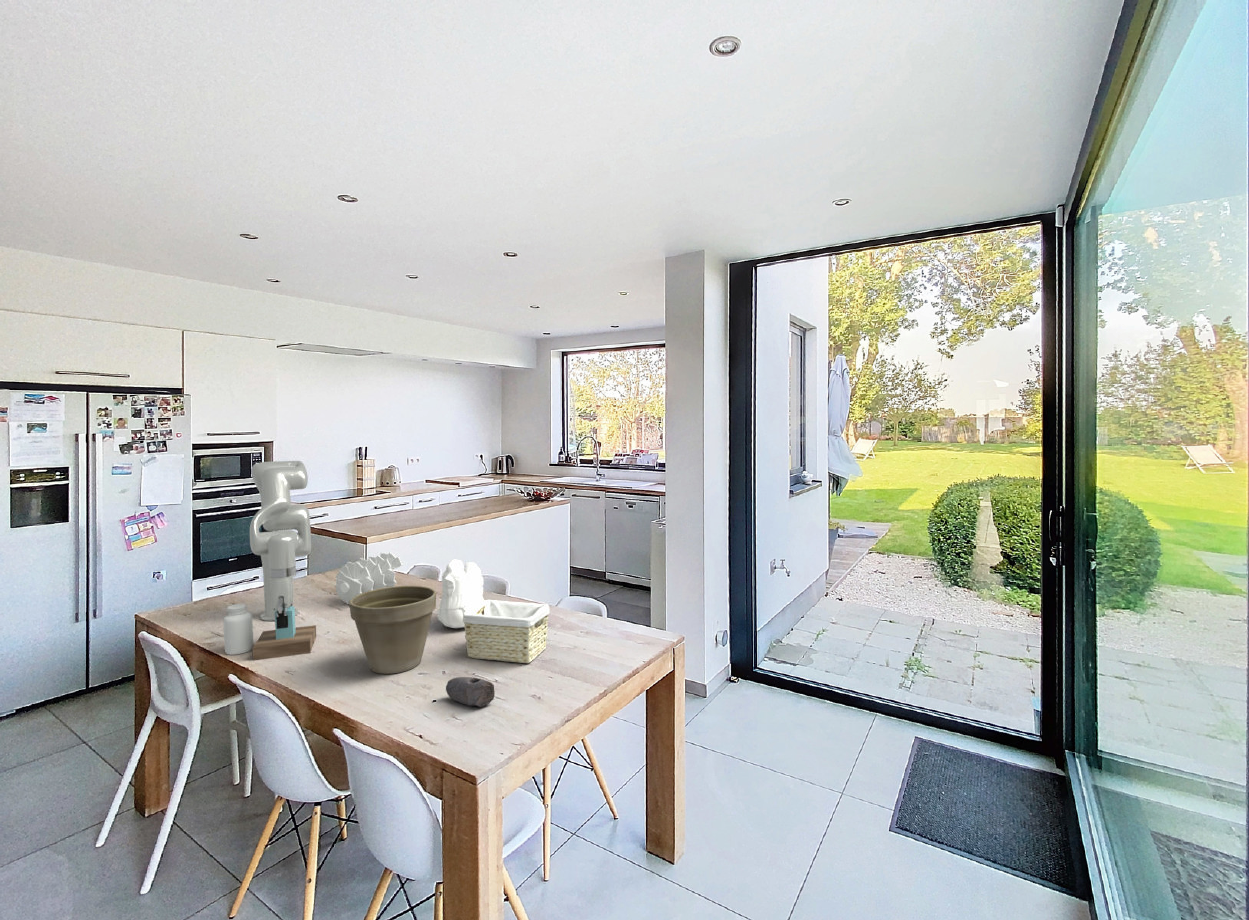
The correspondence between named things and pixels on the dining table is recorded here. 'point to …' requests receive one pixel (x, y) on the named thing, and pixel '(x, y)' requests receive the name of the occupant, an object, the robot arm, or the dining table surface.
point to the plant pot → (393, 625)
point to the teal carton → (291, 629)
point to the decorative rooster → (459, 592)
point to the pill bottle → (238, 630)
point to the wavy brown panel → (284, 643)
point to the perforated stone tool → (470, 691)
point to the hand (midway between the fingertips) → (285, 623)
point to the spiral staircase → (366, 575)
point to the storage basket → (506, 630)
